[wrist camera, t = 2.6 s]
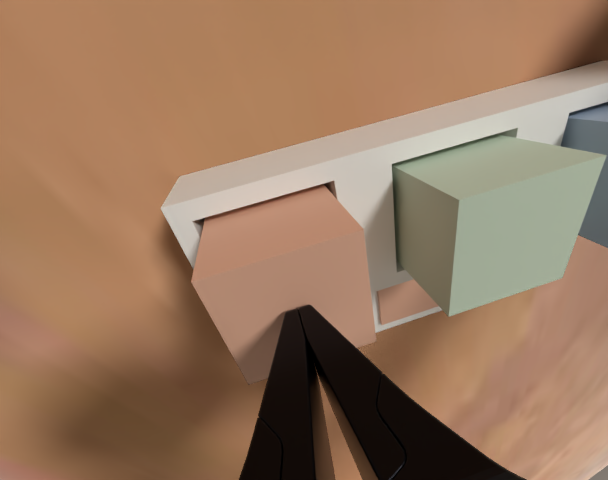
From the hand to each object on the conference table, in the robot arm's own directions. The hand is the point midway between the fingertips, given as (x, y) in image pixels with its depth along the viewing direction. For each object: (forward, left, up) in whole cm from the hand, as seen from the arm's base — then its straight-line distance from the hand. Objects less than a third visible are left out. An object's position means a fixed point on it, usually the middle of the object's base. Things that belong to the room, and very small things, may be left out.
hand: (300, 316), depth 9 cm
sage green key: (-8, 0, -5) cm, 9 cm away
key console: (-8, 0, -8) cm, 11 cm away
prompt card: (-8, +9, -8) cm, 14 cm away
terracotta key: (0, 0, -5) cm, 5 cm away
